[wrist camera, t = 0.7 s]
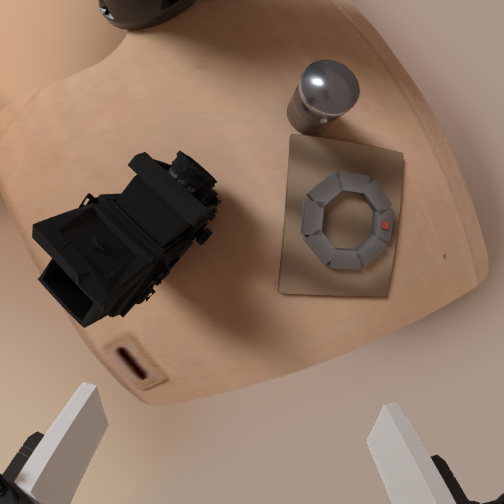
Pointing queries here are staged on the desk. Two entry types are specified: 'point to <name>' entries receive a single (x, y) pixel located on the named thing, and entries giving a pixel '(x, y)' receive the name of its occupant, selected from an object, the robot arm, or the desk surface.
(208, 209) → the camera
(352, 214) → the mount board
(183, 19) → the desk surface
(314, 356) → the desk surface
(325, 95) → the lens
